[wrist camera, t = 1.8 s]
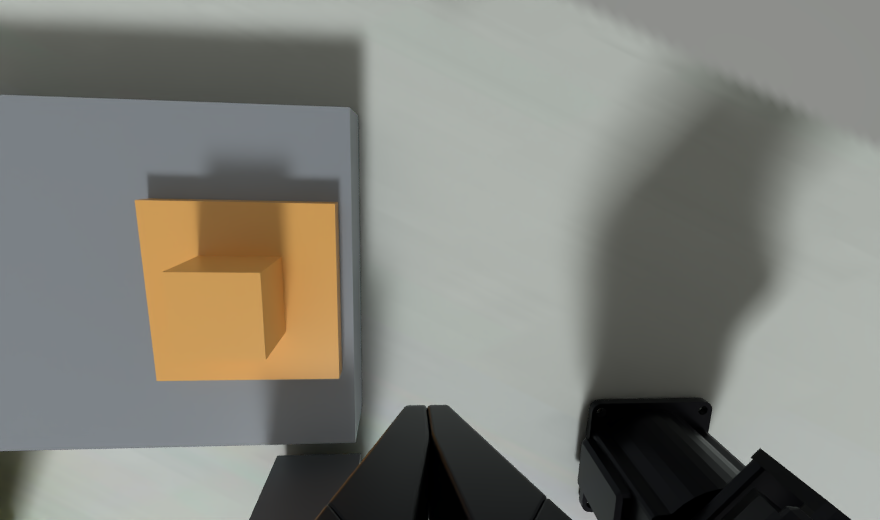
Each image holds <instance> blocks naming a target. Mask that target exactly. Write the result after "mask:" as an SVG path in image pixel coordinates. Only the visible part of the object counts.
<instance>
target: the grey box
mask: <svg viewBox="0 0 880 520" xmlns="http://www.w3.org/2000/svg"><path fill="white" fill-rule="evenodd" d="M360 463H361V454H346V453H345V454H323V455H284V456H277V458H276V460H275V462H274V465H273V467H272V469H271V471H270V474H269V476H268V478H267V480H266V483H265V485H264V487H263V490H262V492H261V494H260V496H259V499H258V501H257V503H256V506H255V508H254V510H253V512H252V515H251V517H250V519H249V520H315V519H316V517H317V516H318V515H319V514H320V512H321V511H322V510H323V509H324V507H326V506H327V504H328V503H329V501H330V500H331V499H332V498H333V496H334V495H335V494H336V493H337V491H338V490H339V489H340V488H341V486H342V485H343V484H344V483H345V481H346V480H347V479H348V478H349V476H350V475H351V474H352V473H353V471H354V470H355V469H356V468H357V466H358V465H359V464H360Z"/></svg>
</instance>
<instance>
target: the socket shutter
mask: <svg viewBox="0 0 880 520" xmlns="http://www.w3.org/2000/svg"><path fill="white" fill-rule="evenodd" d="M135 208H136V216H137V224H138V232H139V240H140V249H141V257H142V265H143V273H144V281H145V290H146V298H147V306H148V314H149V322H150V331H151V339H152V347H153V355H154V363H155V371H156V380H157V381H199V380H281V379H339V378H340V375H341V371H342V346H341V304H340V262H339V220H338V202H312V201H260V200H207V199H155V198H146V199H139V200H135Z"/></svg>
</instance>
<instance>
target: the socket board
mask: <svg viewBox="0 0 880 520" xmlns="http://www.w3.org/2000/svg"><path fill="white" fill-rule="evenodd" d="M146 198H155V199H207V200H260V201H312V202H338V220H339V262H340V304H341V346H342V371H341V375H340V378H339V379H281V380H199V381H157V380H156V371H155V363H154V355H153V347H152V339H151V331H150V322H149V314H148V306H147V298H146V290H145V281H144V273H143V265H142V257H141V249H140V240H139V232H138V224H137V216H136V208H135V200H139V199H146ZM361 410H362V354H361V279H360V205H359V130H358V115H357V114H356V113H355V112H354V111H353V110H352V109H351V108H350V107H330V106H302V105H274V104H247V103H219V102H191V101H163V100H135V99H108V98H80V97H52V96H24V95H0V451H26V450H68V449H111V448H153V447H195V446H238V445H280V444H322V443H356V437H357V432H358V426H359V421H360V415H361Z"/></svg>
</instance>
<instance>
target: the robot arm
mask: <svg viewBox="0 0 880 520" xmlns="http://www.w3.org/2000/svg"><path fill="white" fill-rule="evenodd" d="M702 406H703V407H702ZM700 407H702V409H700V410H699V408H700ZM600 408H603V409H602V411H601V412H598V413H597V410H598V409H600ZM711 413H712V406H711V404H709V403H708V402H707V401H706V400H704V399H703V398H662V399H602V400H595V401H594V402H592V403H591V405H590V407H589V413H588V422H587V431H586V439H584V441H583V442H582V446H581V455H580V464H579V474H578V484H579V486H580V496H579V502H580V504H581V506H582V508H583V509H584V510H585V511H587V512H594V514H595V516H596V518H597V519H598V520H851V519H850V518H848V517H847V516H846V515H845V514H843V513H842V512H841V511H840V510H838V509H837V508H836V507H835V506H833V505H832V504H831V503H830V502H828V501H827V500H826V499H824V498H823V497H822V496H821V495H819V494H818V493H817V492H816V491H814V490H813V489H812V488H810V487H809V486H808V485H807V484H805V483H804V482H803V481H801V480H800V479H799V478H798V477H796V476H795V475H794V474H793V473H791V472H790V471H789V470H787V469H786V468H785V467H784V466H782V465H781V464H780V463H778V462H777V461H776V460H775V459H773V458H772V457H771V456H770V455H768V454H767V453H766V452H764V451H763V450H762V449H761V448H760V449H759V450H758V451H757V452H756V453H755V454H754V455H753V456H752V457H751V458H752V459H753V460H752V461H751V462H750V463H749V464H748V465H747V466H745V465H744V464H742V463H741V462H740V461H739V460H738V459H737V458H736V457H735V456H733V455H732V454H731V453H730V452H729V451H728V450H727V449H726V448H725V447H723V446H722V445H721V444H720V443H719V442H718V441H717V440H716V439H714V438H713V437H712V436H711V435H710V434H709V433H708V430H709V425H710V419H711ZM587 502H588V503H587ZM428 518H429V520H572V519H571V518H570V517H568V516H567V515H566V514H565V513H564V512H563V511H562V510H561V509H560V508H558V507H557V506H556V505H555V504H554V503H553V502H552V501H551V500H550V499H546V496H545V495H544V494H543V493H542V492H541V491H540V490H539V489H538V488H537V487H536V486H534V485H533V484H532V483H531V482H530V481H529V480H528V479H527V478H526V477H525V476H524V475H523V474H522V473H520V472H519V471H518V470H517V469H516V468H515V467H514V466H513V465H512V464H511V463H510V462H509V461H508V460H506V459H505V458H504V457H503V456H502V455H501V454H500V453H499V452H498V451H497V450H496V449H495V448H493V447H492V446H491V445H490V444H489V443H488V442H487V441H486V440H485V439H484V438H483V437H482V436H481V435H479V434H478V433H477V432H476V431H475V430H474V429H473V428H472V427H471V426H470V425H469V424H468V423H467V422H465V421H464V420H463V419H462V418H461V417H460V416H459V415H458V414H457V413H456V412H455V411H454V410H453V409H451V408H450V407H449V406H448V405H430V406H428V407H427V408H426V406H424V405H408V406H406V407H404V409H403V410H402V411H401V412H400V414H399V415H398V416H397V417H396V419H395V420H394V421H393V422H392V424H391V425H390V426H389V428H388V429H387V430H386V431H385V433H384V434H383V435H382V436H381V438H380V439H379V440H378V441H377V443H376V444H375V445H374V446H373V448H372V449H371V450H370V451H369V453H368V454H367V455H366V456H365V458H364V459H363V460H362V461H361V463H360V464H359V465H358V466H357V468H356V469H355V470H354V471H353V473H352V474H351V475H350V476H349V478H348V479H347V480H346V481H345V483H344V484H343V485H342V486H341V488H340V489H339V490H338V491H337V493H336V494H335V495H334V496H333V498H332V499H331V500H330V501H329V503H328V504H327V506H326V507H324V509H323V510H322V511H321V512H320V514H319V515H318V516H317V517H316V519H315V520H428Z"/></svg>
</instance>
